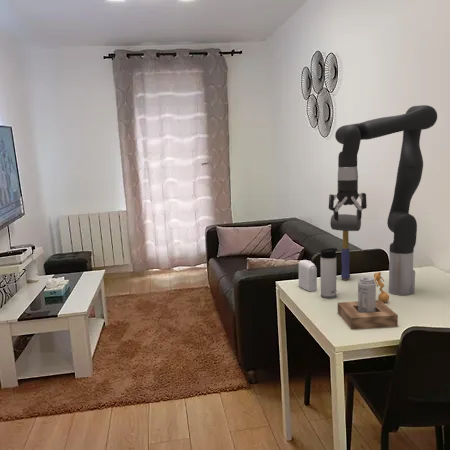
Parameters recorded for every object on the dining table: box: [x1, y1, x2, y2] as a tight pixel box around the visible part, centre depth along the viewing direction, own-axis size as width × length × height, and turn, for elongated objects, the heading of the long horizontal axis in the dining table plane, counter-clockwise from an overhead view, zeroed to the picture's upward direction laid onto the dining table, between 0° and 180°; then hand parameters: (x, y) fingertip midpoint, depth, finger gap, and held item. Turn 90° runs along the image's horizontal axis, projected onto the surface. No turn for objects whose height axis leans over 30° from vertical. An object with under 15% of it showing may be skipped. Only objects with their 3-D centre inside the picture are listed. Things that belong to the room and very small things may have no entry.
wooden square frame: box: [337, 299, 399, 330], centre depth 175 cm, size 16×16×4 cm
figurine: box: [373, 271, 390, 303], centre depth 192 cm, size 8×6×12 cm
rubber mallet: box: [329, 213, 362, 281], centre depth 221 cm, size 12×8×30 cm, turn 60°
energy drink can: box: [357, 276, 377, 313], centre depth 174 cm, size 6×6×15 cm
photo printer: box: [298, 259, 318, 293], centre depth 212 cm, size 10×4×12 cm, turn 21°
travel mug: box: [320, 247, 338, 300], centre depth 200 cm, size 6×7×20 cm
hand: (347, 220), depth 191 cm, fingers open, 8 cm apart
